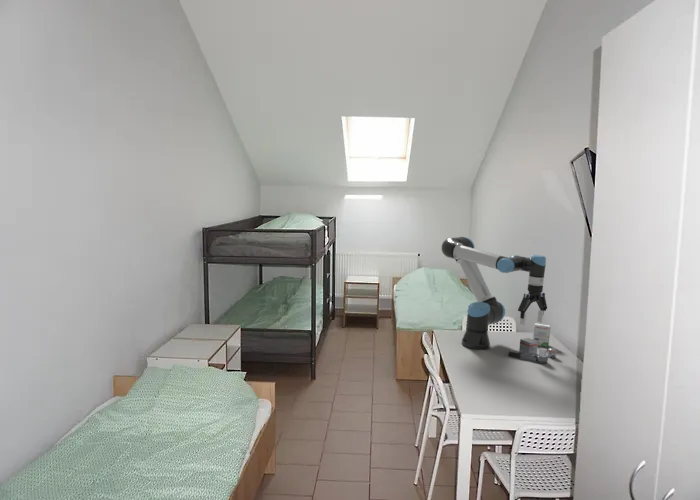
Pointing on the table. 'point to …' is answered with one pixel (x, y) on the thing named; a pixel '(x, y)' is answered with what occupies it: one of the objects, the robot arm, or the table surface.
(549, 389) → the table surface
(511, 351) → the ratchet
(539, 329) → the ink box
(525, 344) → the socket
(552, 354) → the socket small
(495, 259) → the robot arm
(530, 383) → the table surface
